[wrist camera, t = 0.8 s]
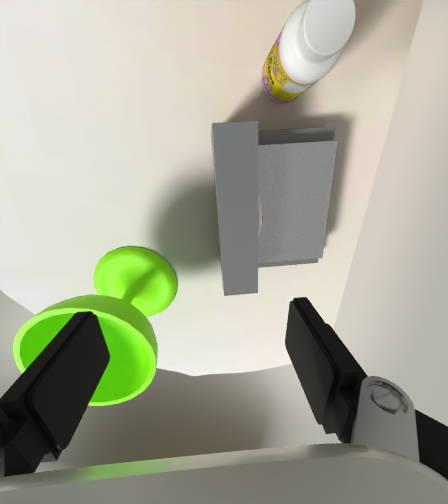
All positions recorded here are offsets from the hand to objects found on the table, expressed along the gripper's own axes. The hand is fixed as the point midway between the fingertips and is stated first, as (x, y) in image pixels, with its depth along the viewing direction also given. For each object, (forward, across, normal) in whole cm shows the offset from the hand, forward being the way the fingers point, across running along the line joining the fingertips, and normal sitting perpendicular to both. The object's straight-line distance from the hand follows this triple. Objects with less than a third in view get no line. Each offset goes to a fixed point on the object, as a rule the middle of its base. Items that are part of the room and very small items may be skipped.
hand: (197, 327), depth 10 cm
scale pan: (+25, -13, 0) cm, 28 cm away
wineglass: (+29, +15, +14) cm, 35 cm away
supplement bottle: (+29, -12, -18) cm, 37 cm away
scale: (+29, -11, 0) cm, 31 cm away
